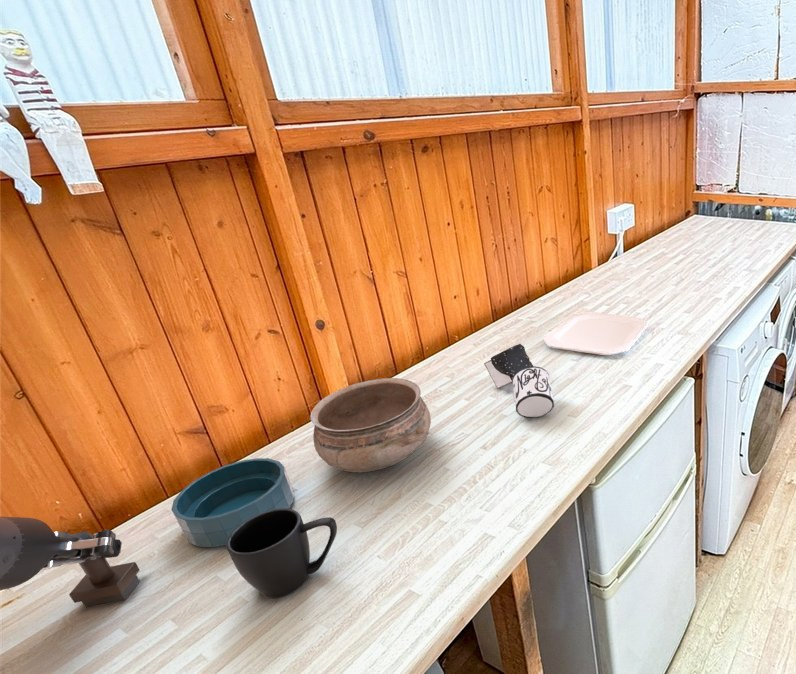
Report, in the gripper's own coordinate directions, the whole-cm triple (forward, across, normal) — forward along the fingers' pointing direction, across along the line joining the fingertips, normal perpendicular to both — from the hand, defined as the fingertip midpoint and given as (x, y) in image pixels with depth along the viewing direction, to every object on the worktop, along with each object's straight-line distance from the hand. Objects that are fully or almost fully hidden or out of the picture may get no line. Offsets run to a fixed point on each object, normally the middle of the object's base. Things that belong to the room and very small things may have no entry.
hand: (103, 550), depth 70 cm
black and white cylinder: (+28, -56, -20) cm, 66 cm away
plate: (+48, -78, -40) cm, 100 cm away
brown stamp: (+3, 0, +6) cm, 6 cm away
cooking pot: (+18, -30, -10) cm, 37 cm away
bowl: (+11, -11, -3) cm, 16 cm away
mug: (0, -24, +9) cm, 25 cm away
